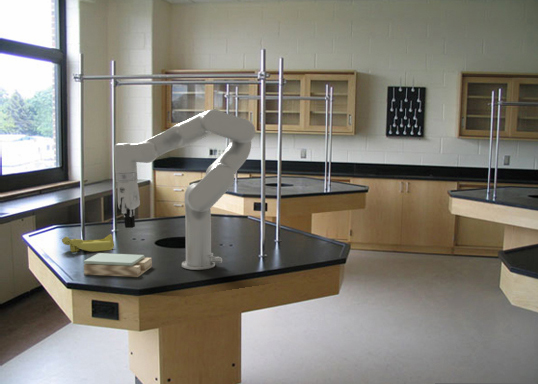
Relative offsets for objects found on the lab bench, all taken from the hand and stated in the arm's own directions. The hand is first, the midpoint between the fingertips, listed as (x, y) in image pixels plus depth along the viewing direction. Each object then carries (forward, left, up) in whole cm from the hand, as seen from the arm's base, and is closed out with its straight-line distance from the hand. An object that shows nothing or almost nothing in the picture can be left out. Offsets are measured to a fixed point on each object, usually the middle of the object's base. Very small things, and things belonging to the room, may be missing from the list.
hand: (130, 227), depth 198 cm
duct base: (+4, +2, -16) cm, 16 cm away
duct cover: (+5, +2, -12) cm, 13 cm away
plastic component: (+30, -28, -16) cm, 44 cm away
